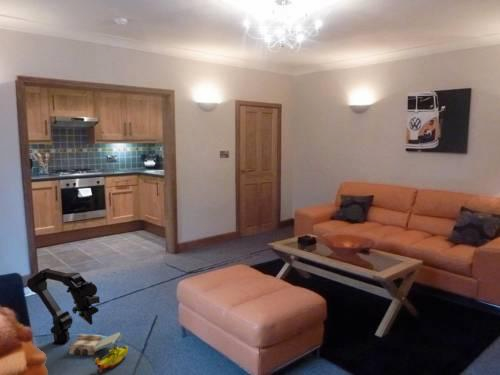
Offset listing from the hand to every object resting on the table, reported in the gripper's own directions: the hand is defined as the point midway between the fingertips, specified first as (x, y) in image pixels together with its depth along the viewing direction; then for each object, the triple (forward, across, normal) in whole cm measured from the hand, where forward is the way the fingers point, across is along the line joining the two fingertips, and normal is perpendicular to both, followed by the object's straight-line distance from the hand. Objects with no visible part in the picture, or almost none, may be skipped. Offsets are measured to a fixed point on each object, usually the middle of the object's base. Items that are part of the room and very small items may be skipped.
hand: (91, 324), depth 203 cm
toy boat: (+15, -22, +5) cm, 27 cm away
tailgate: (+10, -5, +2) cm, 12 cm away
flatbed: (+10, 0, +7) cm, 12 cm away
